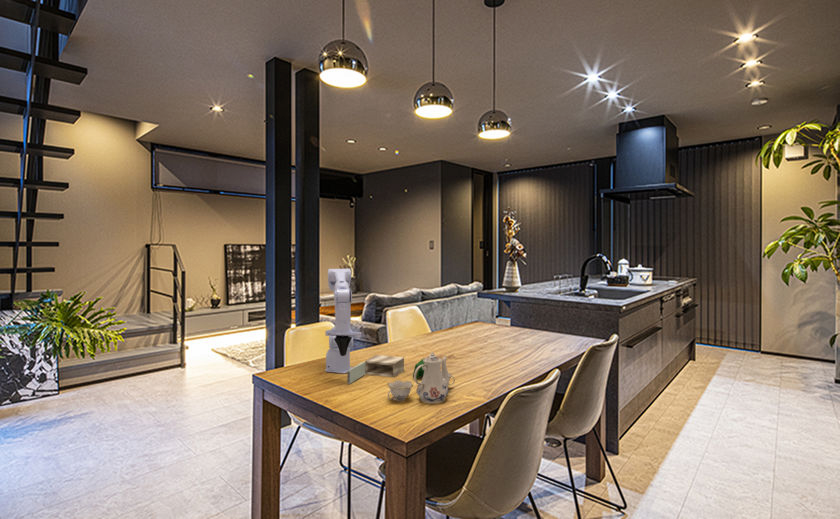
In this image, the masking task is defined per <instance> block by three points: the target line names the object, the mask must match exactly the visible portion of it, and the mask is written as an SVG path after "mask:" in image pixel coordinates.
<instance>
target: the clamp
mask: <svg viewBox="0 0 840 519" xmlns="http://www.w3.org/2000/svg"><path fill="white" fill-rule="evenodd" d="M425 358H426V357H423V358H422V359H421V360H419V361H418V362H417V363H416V364H414V370H413V372H412V378H413V379H414V373H415V370H416V369H417V367H418V366H420V365H423V364H424V361H423V359H425ZM423 367H424V366H423ZM423 375H424V370H423V369H422V367H421V368H420V369H419V370H418V372H417V375H416V379H417V380H419V379H420V378H421V377H422V378H423Z"/></svg>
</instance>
